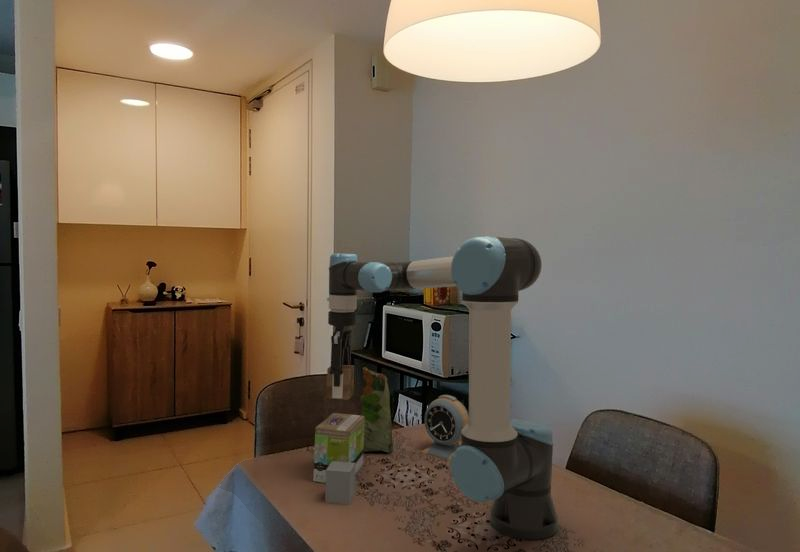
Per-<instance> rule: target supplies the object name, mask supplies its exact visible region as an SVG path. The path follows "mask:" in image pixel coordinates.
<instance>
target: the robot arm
mask: <svg viewBox="0 0 800 552" xmlns="http://www.w3.org/2000/svg"><path fill="white" fill-rule="evenodd" d="M541 272H542V259H541V255H540V253H539V251H538V249H537V248H536V247H535V246H534V244H532V243H531V242H529V241H527V240H525V239H523V238H515V237H512V238H511V237H501V236H490V235H489V236H488V235H486V236H476V237H472V238H468V239H467V240H465V241H464V242H462V243H461V245H460V246H459V247H458V248H457V249H456V250H455V252H454V254H453V256H448V257H447V256H445V257H437V258H430V259H429V258H428V259H420V260H413V261H412V260H409V261H400V262H397V261H395V262H391V261H389V262H382V261H381V262H379V261H376V262H375V261H371V262H370V261H369V262H368V261H358V255H357V254H355V253H332V254H331V255H330V256H329V267H328V297H327V298H326V300H327V302H328V309H329V311H328V312H327V313H328V314H327V315H328V316H327V317H328V318H327V319H328V320H327V321H328V322H327V324H328V325H330V326H334V332H332V333H333V334H332V335H331V336H330V340H331V341H330V342H331V344H330V345H331V352H330V366H331V370H330V371H329V373H330V374H333V381H332V398H341V399H340V400H343V399H342V398H343V374H342V368H343V365H352V333H353V331H352V329H350V327H351V326H352V327H353V326H355V325H356V324H357V312H356V311H355V310H357V307H358V306H357V302H358V299H357V297H358V296H357V295H358V294H357V293H358V292H357V291H360V292H361V291H363V292H368V293H383V292H387V291H405V290H406V291H412V290H417V289H418V290H419V289H432V288H433V289H434V288H447V287H456V288H457V289H458V290H459V291H460V292H461V302H462V303H463V305H465V307H466V308H468V311H469V312H468V313H469V314H468V316H469V317H468V320H469V321H468V323H469V324H468V325H469V326H468V328H469V329H468V330H469V331H468V333H469V334H468V336H469V337H468V347H469V348H468V350H469V351H468V352H469V353H468V414H469V422H468V424H467V425H466V426H465V427H464V428H463V429H462V432H461V433H462V436H461V441H460V442H461V445H460V446H461V447H458V448H457V449H456V451H455V452H454V453H453V454H452V456H451V460H450V461H449V466H450V467H449V468H450V473H451V477H452V479H453V481H454V484H455V485H456V486H457V487H458V489H459V491H460V492H461V493H462V494H463V495H465V497H467V498H468V499H470V500H471V501H473V502H477V503H486V502H490V501H492V504H491V506H490V510H489V522H490V525H491V526H492V527H493V528H494V529H495V530H496V531H498V532H500V533H501V534H503V535H506V536H509V537H511V538H512V537H513V538H515V539H520V540H521V539H522V540H530V541H532V540H533V541H535V540H544V539H547V538H550V537H552V536H554V535H556V533H557V531H558V529H559V528H558V527H559V526H558V525H559V518H558V514H557V513H558V512H557V510H556V507H555V503H554V499H553V496H552V474H553V472H552V471H553V468H552V467H553V454H554V453H553V448H554V441H553V439H554V438H553V432H552V430H551V429H550V428H549V427H548V426H546V425H544V424H540V423H538V422H534V421H530V420H521V419H511V369H512V368H511V363H512V362H511V360H512V359H511V358H512V356H511V355H512V354H511V353H512V352H511V348H512V347H511V346H512V345H511V344H512V343H511V342H512V340H511V338H512V337H511V336H512V335H511V334H512V328H511V327H512V310H513V308H515V306H516V305H518V303H519V292H520V291H524V290H526V289H529V288H530V287H531V286H533V285H534V284H535V283H536V281H537V280H538V278H540V275H541Z"/></svg>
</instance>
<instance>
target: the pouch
mask: <svg viewBox="0 0 800 552" xmlns="http://www.w3.org/2000/svg"><path fill="white" fill-rule="evenodd" d="M362 370H363V371H362V373H363V377H362V378H363V380H362V381H363V385H361V390H363V394H361V395H360V403H361V411H360V413H361V416H365V425H364V452H363V453H368V452H384V453H392V451H394V441H393V427H392V426H393V425H392V419H391V417H392V416H391V414H392V413H391V407H390V401H391V400H390V399H391V394H390V389H389V385H388V378H387V376H386V375H385V374H384V373H377V372H375V371H372V370H371V369H370V370H369V369H368V367H366V366H364V367H363V368H362Z"/></svg>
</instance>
